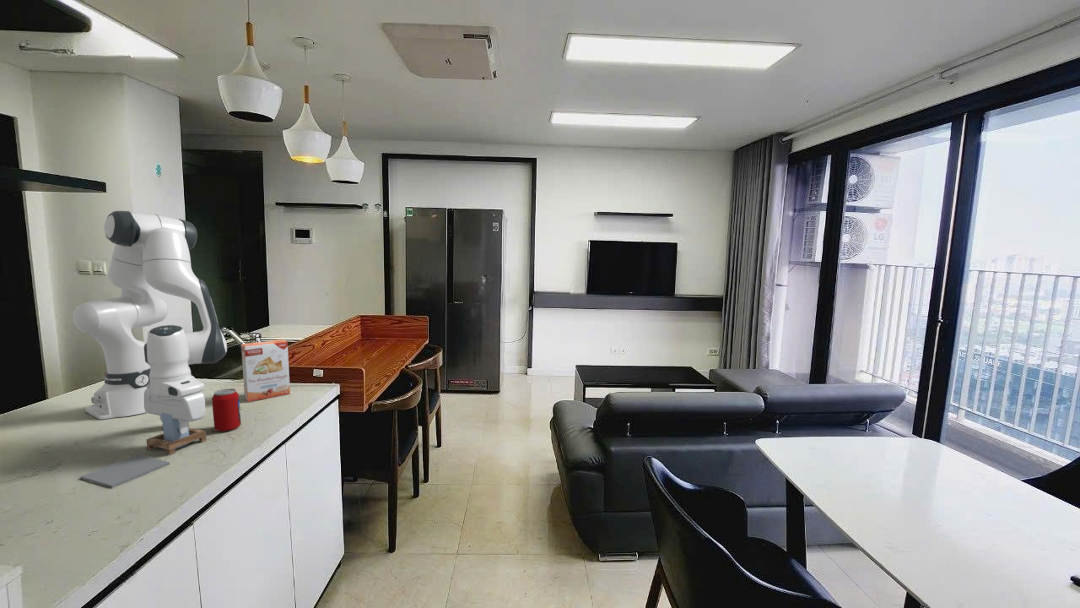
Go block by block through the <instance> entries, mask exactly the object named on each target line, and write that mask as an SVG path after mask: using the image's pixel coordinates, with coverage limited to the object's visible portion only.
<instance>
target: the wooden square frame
mask: <svg viewBox="0 0 1080 608" xmlns="http://www.w3.org/2000/svg"><path fill="white" fill-rule="evenodd" d="M188 428H189V436H186V437H184V438H181V439H178V440H176V441H173V442H168V441H164V434H163V433H160V434H157V435H155V436H152V437H149V438H146V439H145V441H146V448H147V449H146V450H147V451H152V450H154V449H156V448H160V449H163V450H164V449H165V450H166V455H168V456H172V455H174V454H175V453H176V449H175V448H176V447H179V446H181V445H184V444H186V443H189V442H190V443H191V442H194V441H196V440H198V442H199V443H204V442H207V435H206V434H207V432H206V430H202V429H198V428H197V429H196V428H193V427H188ZM184 446H185V445H184ZM179 448H180V447H179Z"/></svg>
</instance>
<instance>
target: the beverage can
mask: <svg viewBox="0 0 1080 608" xmlns="http://www.w3.org/2000/svg"><path fill="white" fill-rule="evenodd" d="M211 403H212V406H211V407H212V416H213V425H214V427H213V428H214V430H215V431H218V432H221V433H226V432H227V433H228V432H232V431H233V430H236V429H238V428H239V427H240V426H241V424H242V420H241V408H240V407H241V406H240V396H239V392H237V391H236V389H235V388H223V389H220V390H216V391H215V392H214V394H213V395H212V398H211Z"/></svg>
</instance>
